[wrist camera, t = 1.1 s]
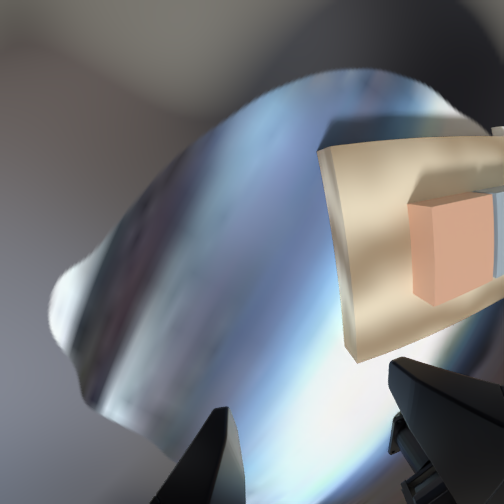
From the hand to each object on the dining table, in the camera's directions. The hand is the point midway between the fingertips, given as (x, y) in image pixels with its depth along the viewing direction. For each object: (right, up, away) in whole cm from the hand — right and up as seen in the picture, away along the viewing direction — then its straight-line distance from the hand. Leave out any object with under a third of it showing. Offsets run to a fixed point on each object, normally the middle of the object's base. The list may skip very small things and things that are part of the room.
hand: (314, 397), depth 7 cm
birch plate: (+13, +6, +12) cm, 18 cm away
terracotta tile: (+11, +5, +10) cm, 16 cm away
